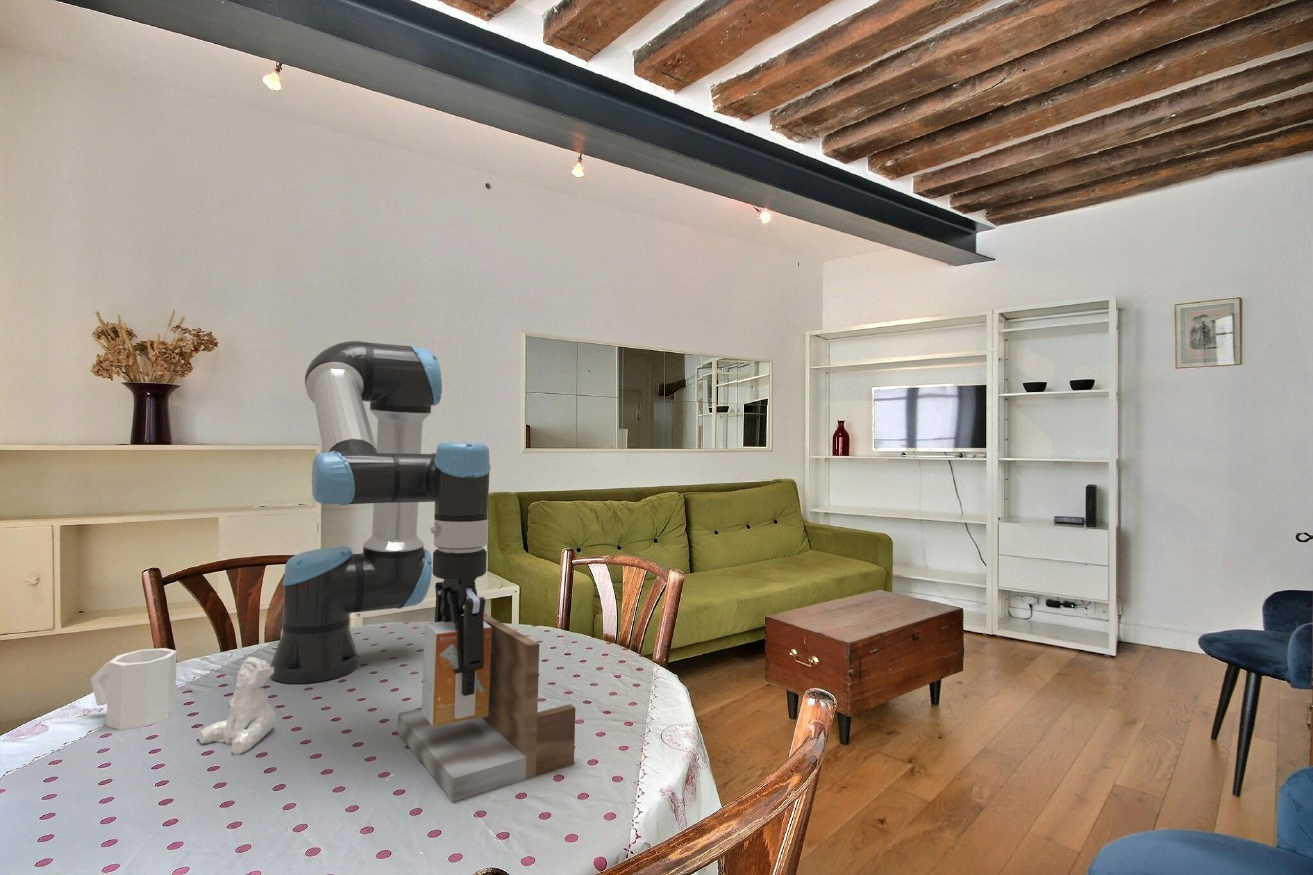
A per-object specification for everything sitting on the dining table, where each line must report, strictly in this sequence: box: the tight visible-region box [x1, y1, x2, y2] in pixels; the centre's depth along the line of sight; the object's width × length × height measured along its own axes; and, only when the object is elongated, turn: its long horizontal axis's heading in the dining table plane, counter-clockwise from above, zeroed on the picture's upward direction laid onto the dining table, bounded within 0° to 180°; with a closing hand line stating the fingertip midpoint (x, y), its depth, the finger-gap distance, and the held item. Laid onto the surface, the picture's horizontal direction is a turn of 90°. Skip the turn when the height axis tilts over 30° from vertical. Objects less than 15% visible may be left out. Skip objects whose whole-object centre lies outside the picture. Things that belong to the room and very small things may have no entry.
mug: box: [90, 647, 178, 731], centre depth 104 cm, size 12×9×10 cm
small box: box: [421, 621, 491, 727], centre depth 94 cm, size 8×6×13 cm
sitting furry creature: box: [198, 656, 277, 756], centre depth 98 cm, size 10×9×12 cm
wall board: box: [397, 613, 576, 803], centre depth 97 cm, size 24×18×18 cm
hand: (455, 707), depth 94 cm, fingers closed on small box, 6 cm apart
